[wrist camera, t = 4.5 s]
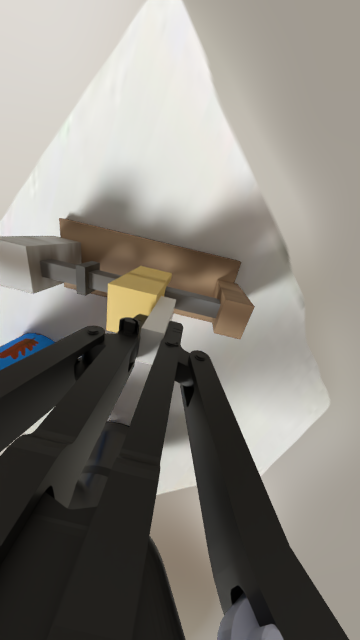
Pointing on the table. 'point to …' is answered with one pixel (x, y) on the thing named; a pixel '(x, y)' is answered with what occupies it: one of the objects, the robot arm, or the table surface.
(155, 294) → the sleeve
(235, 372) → the table surface
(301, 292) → the table surface
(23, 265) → the rod stand
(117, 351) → the robot arm
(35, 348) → the thermos
